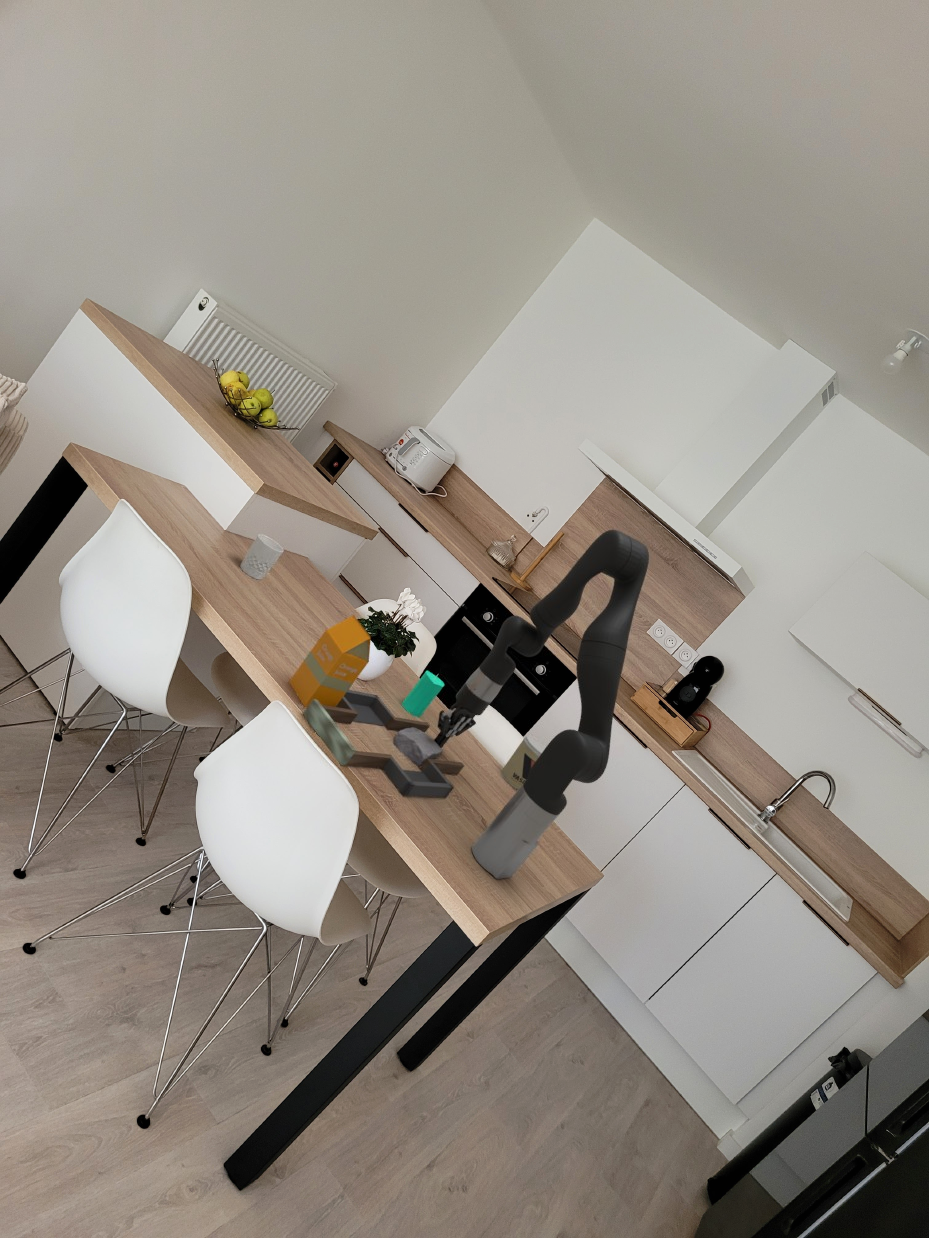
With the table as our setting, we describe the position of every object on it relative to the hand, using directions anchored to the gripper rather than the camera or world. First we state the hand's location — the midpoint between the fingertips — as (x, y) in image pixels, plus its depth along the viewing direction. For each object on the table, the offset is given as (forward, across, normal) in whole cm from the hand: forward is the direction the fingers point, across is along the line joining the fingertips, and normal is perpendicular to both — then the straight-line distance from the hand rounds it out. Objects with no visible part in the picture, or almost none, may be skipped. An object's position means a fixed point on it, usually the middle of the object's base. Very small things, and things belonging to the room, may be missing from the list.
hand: (436, 745), depth 196 cm
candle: (+2, +7, +17) cm, 18 cm away
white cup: (+3, -16, +70) cm, 72 cm away
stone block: (+2, -8, 0) cm, 8 cm away
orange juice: (+2, -32, +14) cm, 35 cm away
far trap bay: (+2, -18, +11) cm, 21 cm away
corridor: (+2, -18, 0) cm, 18 cm away
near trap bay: (+2, -18, -12) cm, 22 cm away
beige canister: (+2, +28, -8) cm, 30 cm away
